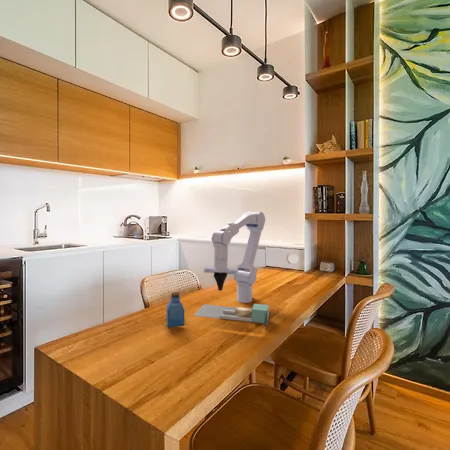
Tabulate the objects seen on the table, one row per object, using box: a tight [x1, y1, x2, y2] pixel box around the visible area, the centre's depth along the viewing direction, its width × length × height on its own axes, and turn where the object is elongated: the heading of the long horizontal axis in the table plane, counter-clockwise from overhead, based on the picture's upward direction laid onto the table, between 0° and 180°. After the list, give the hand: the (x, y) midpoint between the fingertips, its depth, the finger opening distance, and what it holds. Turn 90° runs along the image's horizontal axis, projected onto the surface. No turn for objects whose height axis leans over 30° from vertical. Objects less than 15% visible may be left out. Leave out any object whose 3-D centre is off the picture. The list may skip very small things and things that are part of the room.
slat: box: [235, 306, 252, 318], centre depth 116 cm, size 12×3×4 cm, turn 77°
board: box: [193, 303, 271, 327], centre depth 121 cm, size 14×30×6 cm, turn 77°
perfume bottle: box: [166, 291, 185, 328], centre depth 112 cm, size 6×6×12 cm
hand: (220, 289), depth 124 cm, fingers closed
